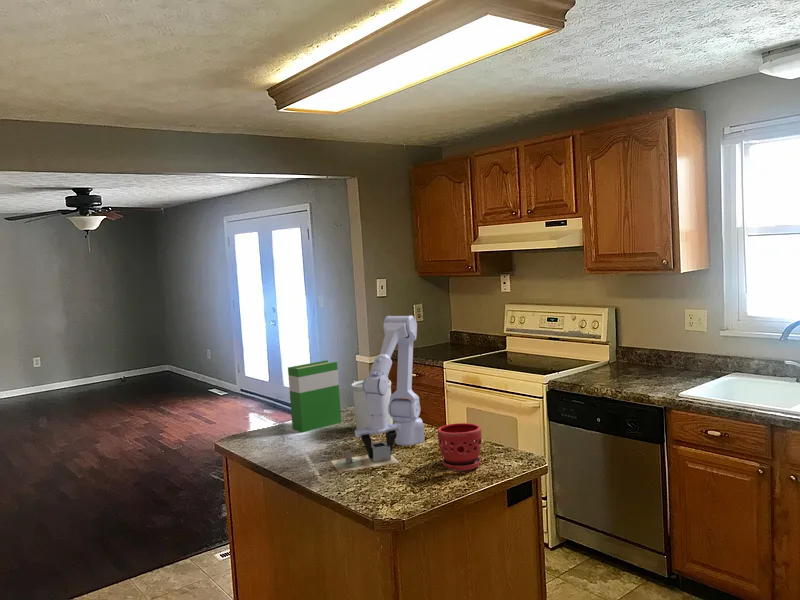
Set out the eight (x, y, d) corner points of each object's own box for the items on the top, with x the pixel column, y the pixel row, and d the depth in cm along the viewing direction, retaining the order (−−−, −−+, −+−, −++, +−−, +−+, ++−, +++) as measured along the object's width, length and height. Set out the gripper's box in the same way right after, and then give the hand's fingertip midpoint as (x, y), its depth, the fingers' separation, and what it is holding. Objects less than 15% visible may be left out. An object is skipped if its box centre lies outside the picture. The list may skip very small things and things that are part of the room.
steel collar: (386, 455, 212) (385, 441, 212) (391, 460, 207) (390, 446, 207) (369, 457, 211) (368, 444, 210) (373, 463, 205) (372, 448, 205)
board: (388, 454, 216) (387, 438, 216) (399, 465, 205) (398, 448, 204) (331, 463, 210) (329, 446, 210) (339, 475, 199) (337, 457, 199)
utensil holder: (346, 430, 249) (343, 384, 248) (376, 421, 259) (373, 377, 258) (372, 436, 238) (368, 388, 237) (402, 427, 248) (399, 381, 247)
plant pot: (491, 464, 201) (489, 425, 200) (463, 476, 191) (461, 435, 191) (459, 456, 210) (456, 419, 209) (430, 467, 201) (428, 429, 200)
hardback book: (330, 419, 266) (326, 360, 265) (341, 422, 261) (337, 362, 259) (292, 429, 255) (287, 367, 254) (302, 432, 250) (297, 369, 248)
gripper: (357, 419, 202) (360, 463, 203) (402, 413, 206) (405, 456, 207) (352, 414, 209) (355, 457, 210) (396, 408, 213) (398, 450, 214)
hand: (379, 456), depth 209 cm, fingers closed on steel collar, 6 cm apart
